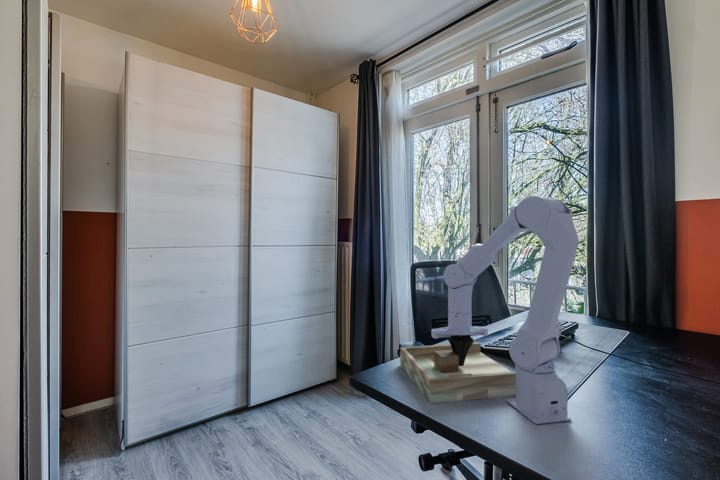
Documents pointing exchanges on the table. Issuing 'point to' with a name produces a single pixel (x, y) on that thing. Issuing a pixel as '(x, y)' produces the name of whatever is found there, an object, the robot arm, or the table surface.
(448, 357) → the block
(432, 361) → the board
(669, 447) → the table surface
